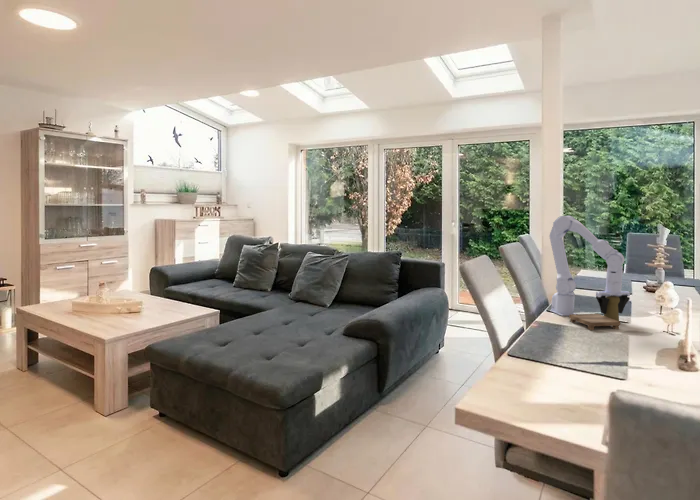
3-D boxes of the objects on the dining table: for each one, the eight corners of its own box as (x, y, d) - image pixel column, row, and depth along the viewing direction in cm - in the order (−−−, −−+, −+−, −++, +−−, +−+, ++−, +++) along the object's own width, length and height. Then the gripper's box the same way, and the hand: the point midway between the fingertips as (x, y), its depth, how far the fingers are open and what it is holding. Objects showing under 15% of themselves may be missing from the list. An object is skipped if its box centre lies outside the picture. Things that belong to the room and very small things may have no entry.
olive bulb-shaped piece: (621, 323, 186) (623, 297, 185) (605, 322, 188) (607, 296, 186) (616, 319, 192) (617, 294, 191) (600, 318, 193) (602, 293, 192)
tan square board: (569, 321, 188) (569, 314, 188) (596, 320, 191) (597, 313, 190) (590, 330, 176) (590, 322, 175) (619, 329, 178) (620, 321, 177)
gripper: (605, 283, 183) (602, 316, 184) (636, 282, 185) (634, 314, 187) (593, 280, 190) (591, 311, 191) (623, 279, 192) (621, 310, 194)
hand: (611, 313), depth 190 cm, fingers open, 7 cm apart
